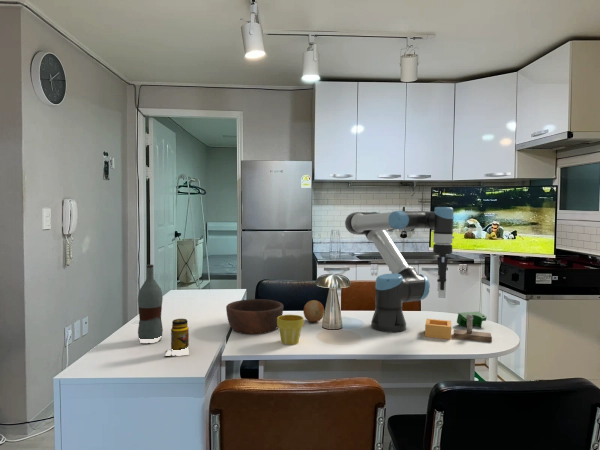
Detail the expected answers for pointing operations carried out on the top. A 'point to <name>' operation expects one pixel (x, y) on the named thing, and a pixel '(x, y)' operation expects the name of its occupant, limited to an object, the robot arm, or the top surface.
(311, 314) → the brown oval piece
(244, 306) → the wooden bowl
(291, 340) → the plant pot
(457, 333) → the brown block with peg
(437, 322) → the orange hollow square frame
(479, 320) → the clamp
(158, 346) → the top surface
